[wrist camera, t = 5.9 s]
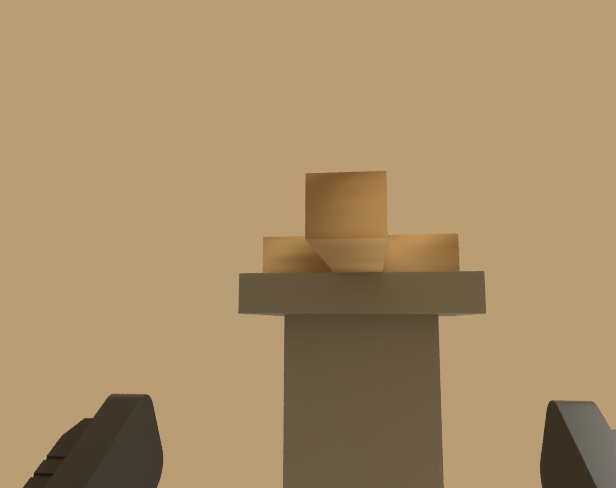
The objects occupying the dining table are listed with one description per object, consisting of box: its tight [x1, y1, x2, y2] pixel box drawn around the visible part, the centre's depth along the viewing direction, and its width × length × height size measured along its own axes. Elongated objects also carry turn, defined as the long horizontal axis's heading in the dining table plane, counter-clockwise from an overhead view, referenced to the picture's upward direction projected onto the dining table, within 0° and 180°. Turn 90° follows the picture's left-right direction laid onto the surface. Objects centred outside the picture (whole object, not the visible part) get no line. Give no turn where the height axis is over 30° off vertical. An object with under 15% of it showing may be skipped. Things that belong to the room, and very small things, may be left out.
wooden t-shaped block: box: [263, 171, 459, 273], centre depth 27 cm, size 10×22×2 cm, turn 173°
